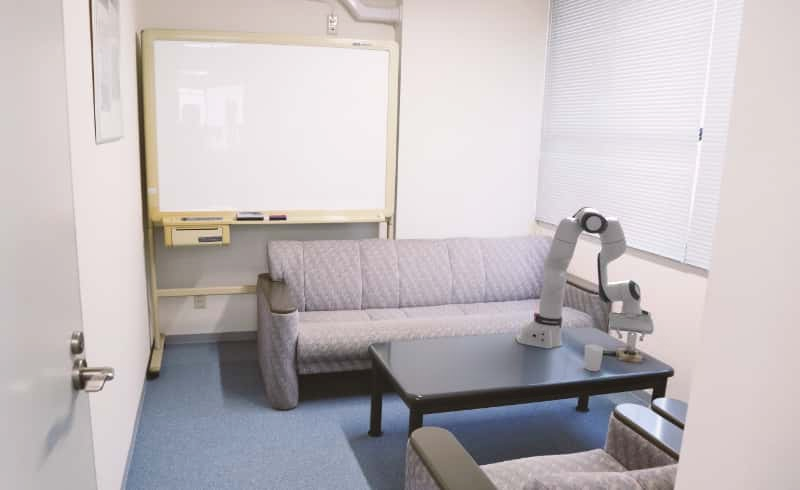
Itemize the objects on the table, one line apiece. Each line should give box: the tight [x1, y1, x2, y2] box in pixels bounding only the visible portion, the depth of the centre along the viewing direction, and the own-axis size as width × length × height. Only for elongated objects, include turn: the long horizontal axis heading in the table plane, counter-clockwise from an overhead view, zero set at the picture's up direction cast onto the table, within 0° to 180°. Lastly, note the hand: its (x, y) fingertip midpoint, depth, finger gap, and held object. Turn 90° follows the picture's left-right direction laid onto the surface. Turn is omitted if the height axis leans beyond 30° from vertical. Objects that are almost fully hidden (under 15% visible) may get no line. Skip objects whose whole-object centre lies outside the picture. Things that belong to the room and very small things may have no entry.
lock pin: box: [603, 348, 617, 357], centre depth 290 cm, size 8×2×2 cm
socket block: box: [616, 347, 643, 364], centre depth 287 cm, size 10×10×2 cm
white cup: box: [583, 343, 604, 372], centre depth 270 cm, size 8×8×10 cm
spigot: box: [625, 332, 638, 355], centre depth 286 cm, size 4×4×12 cm
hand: (630, 339), depth 288 cm, fingers open, 8 cm apart
